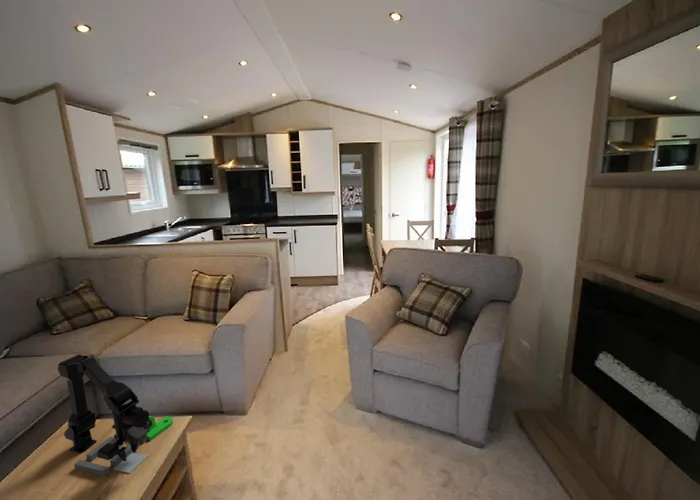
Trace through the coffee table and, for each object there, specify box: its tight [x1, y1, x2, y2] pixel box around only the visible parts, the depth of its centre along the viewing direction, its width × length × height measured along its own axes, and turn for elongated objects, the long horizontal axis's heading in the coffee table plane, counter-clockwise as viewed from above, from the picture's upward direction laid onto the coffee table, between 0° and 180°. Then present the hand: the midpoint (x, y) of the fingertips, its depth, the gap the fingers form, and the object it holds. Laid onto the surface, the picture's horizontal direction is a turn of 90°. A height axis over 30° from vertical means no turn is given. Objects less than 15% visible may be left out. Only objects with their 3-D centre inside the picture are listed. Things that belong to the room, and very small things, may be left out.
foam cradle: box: [73, 436, 149, 478], centre depth 134 cm, size 14×19×2 cm
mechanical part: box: [147, 415, 174, 442], centre depth 146 cm, size 12×6×8 cm, turn 155°
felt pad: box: [112, 452, 149, 475], centre depth 129 cm, size 8×8×1 cm
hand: (129, 456), depth 129 cm, fingers open, 4 cm apart
